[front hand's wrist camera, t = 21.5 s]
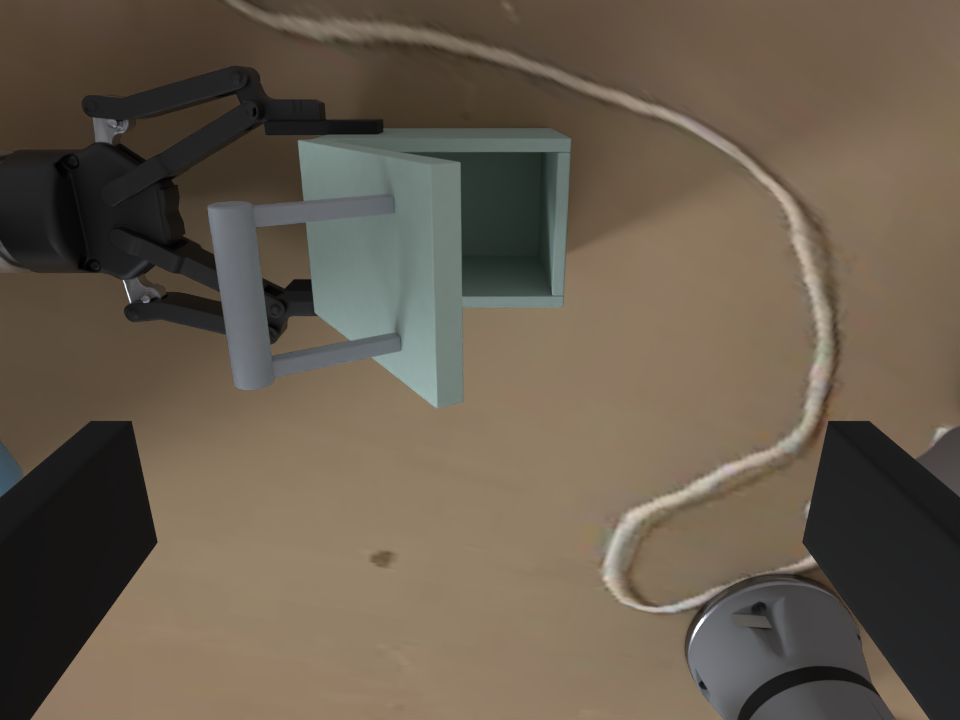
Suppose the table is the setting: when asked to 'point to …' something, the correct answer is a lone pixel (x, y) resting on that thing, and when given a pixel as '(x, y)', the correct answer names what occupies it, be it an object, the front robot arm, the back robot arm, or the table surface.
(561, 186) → the chest
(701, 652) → the front robot arm
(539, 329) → the table surface
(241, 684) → the table surface
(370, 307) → the lid
